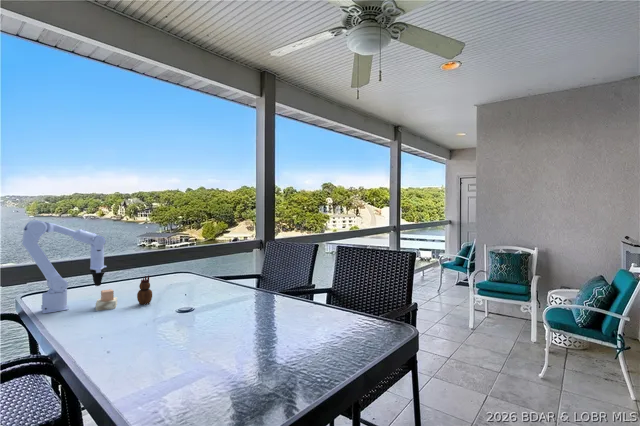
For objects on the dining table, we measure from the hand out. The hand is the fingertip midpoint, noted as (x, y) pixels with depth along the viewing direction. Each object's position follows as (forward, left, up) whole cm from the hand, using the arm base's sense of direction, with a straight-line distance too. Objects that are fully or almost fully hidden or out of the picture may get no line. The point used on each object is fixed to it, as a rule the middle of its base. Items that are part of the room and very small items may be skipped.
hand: (97, 284), depth 168 cm
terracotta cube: (+3, -12, -6) cm, 14 cm away
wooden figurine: (+19, -17, -10) cm, 27 cm away
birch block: (+3, -12, -10) cm, 16 cm away
